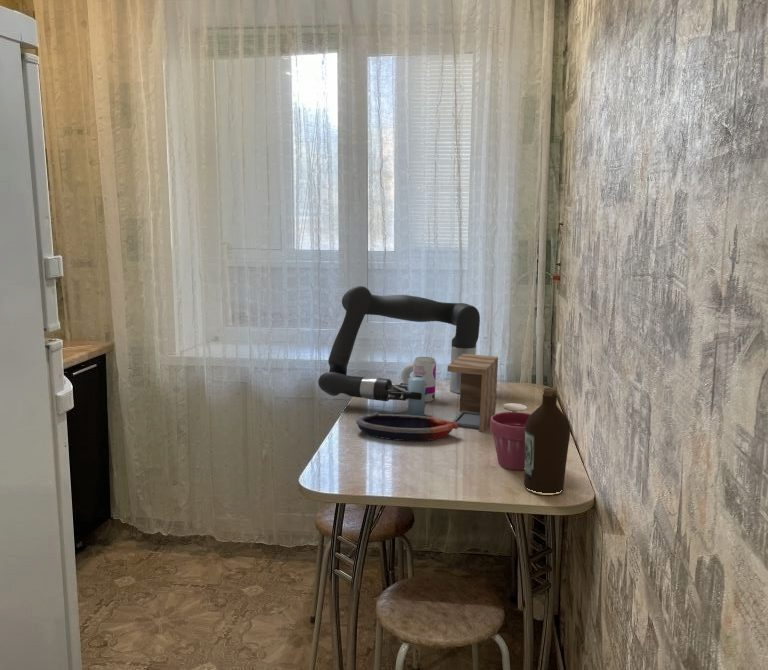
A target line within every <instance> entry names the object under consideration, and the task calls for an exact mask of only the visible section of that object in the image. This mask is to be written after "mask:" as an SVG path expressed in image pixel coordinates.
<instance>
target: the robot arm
mask: <svg viewBox="0 0 768 670" xmlns="http://www.w3.org/2000/svg"><path fill="white" fill-rule="evenodd" d="M341 298H342V299H341V305H342V307H343V309H344V310H345V315H344V318H343V322H342V324H341V326H340V329H339V330H338V333H337V334H336V337H335V339H334V342H333V344H332V346H331V347H332V348H331V349H330V353H329V356H328V361H327V363H328V366H329V371H328V372H327V371H326V372H323V373H322V374H320V376H319V377H318V386H319V388H320V390H322V391H323V393H325V394H327V395H330V396H332V397H336V396H338V395H340V394H344V395H346V396H349V397H351V398H353V397H354V398H361V399H366V400H369V401H370V400H372V401H379V402H380V401H381V402H389V401H402V402H403V401H408V400H409V399H416V400H421V399H422V393H417V392H409V391H408V386H409V384H405V383H403V382H401V383H399V384H397V383H396V384H394V385H393V383H392V382H393V381H392V380H391V379H390V378H381V377H373V376H372V377H371V376H357V375H355V376H354V375H352V376H351V375H347V374H348V365H349V361H350V360H351V356H352V353H353V349H354V346H355V342H356V340H357V335H358V333H359V331H360V328H361V325H362V323H363V320H364V318H365V316H368V315H369V316H371V315H372V316H380V317H386V318H390V319H396V320H400V321H407V322H415V323H425V322H426V323H427V322H428V323H429V322H440V323H445V324H447V325H448V324H449V325H453V326H455V335H454V337H452V339H451V351H450V353H451V354H450V355H451V356H450V364H451V363H452V362H453V361H454V360H456V359H457V358H458V357H459V356H460V355H462V354H472V355H477V343H478V340H479V337H480V335H479V334H480V324H481V316H480V315H481V314H480V312H479V310H478V308H476V306H473V305H471V304H468V303H464V302H443V301H442V302H441V301H436V300H433V299H429V298H427V297H426V298H425V297H421V296H416V295H415V296H414V295H408V294H407V295H406V294H393V295H376V294H372V292H371V291H370V290H369V288H367V287H366V286H363V285H356V286H353V287H352V288H350V289H348V291H346V292H345V294H344V295H343V296H342V297H341ZM449 373H450V374H449V376H450V377H449V391H450V392H452V393H457V394H460V387H461V373H457V372H449ZM425 395H427V389H425Z"/></svg>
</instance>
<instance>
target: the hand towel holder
mask: <svg viewBox="0 0 768 670" xmlns="http://www.w3.org/2000/svg"><path fill="white" fill-rule="evenodd" d="M501 406H502V408H503V409H504V410H507V411H508V412H524V411H525V410H526V409H528V407H527V406H526V405H524V404H521V403H514V402H513V403H512V402H510V403H504V404H501Z"/></svg>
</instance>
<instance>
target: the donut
mask: <svg viewBox="0 0 768 670" xmlns="http://www.w3.org/2000/svg"><path fill="white" fill-rule="evenodd" d="M411 373H413V362H410V363H407V364H406V365H405V366H404V367H403V368H402V370H401V373H400V378H401V381H402V383H405V384H409V378H410V377H411V376H410V374H411Z"/></svg>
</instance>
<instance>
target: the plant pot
mask: <svg viewBox="0 0 768 670" xmlns="http://www.w3.org/2000/svg"><path fill="white" fill-rule="evenodd" d="M531 414H532V413H527V412H523V411H517V412H512V411H505V412H497V413H495V415H493V416H492V417H491V420H490V423H489V425H490V426H489V428H490V429H489V430H490V433H491V434H492V435H493V438H494V439H493V440H494V441H493V442H494V446H495V447H494V448H495V452H496V457H497V462H498V465H499V466H500V467H501V466H502V467H501V468H504V467H505V468H504V469H506V468H509V469H508V470H511V469H524V468H525V425H526V422H527V419H528V417H529V416H530V415H531Z"/></svg>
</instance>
